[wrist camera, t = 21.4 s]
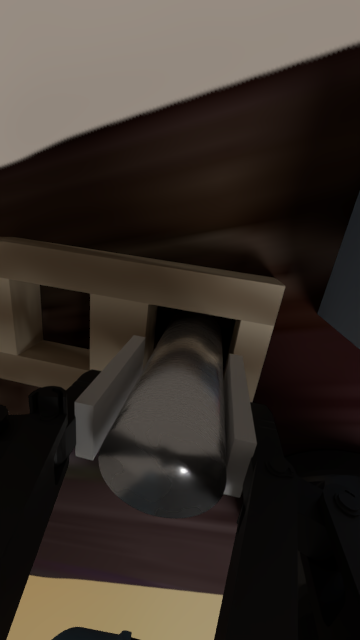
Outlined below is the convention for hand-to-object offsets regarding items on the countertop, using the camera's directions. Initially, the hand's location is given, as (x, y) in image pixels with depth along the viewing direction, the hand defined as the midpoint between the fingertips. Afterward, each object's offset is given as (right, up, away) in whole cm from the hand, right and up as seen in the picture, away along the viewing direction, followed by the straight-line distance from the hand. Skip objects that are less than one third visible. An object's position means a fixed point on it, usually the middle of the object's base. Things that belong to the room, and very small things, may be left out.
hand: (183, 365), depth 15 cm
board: (-4, +2, +5) cm, 7 cm away
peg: (+1, +2, +4) cm, 5 cm away
